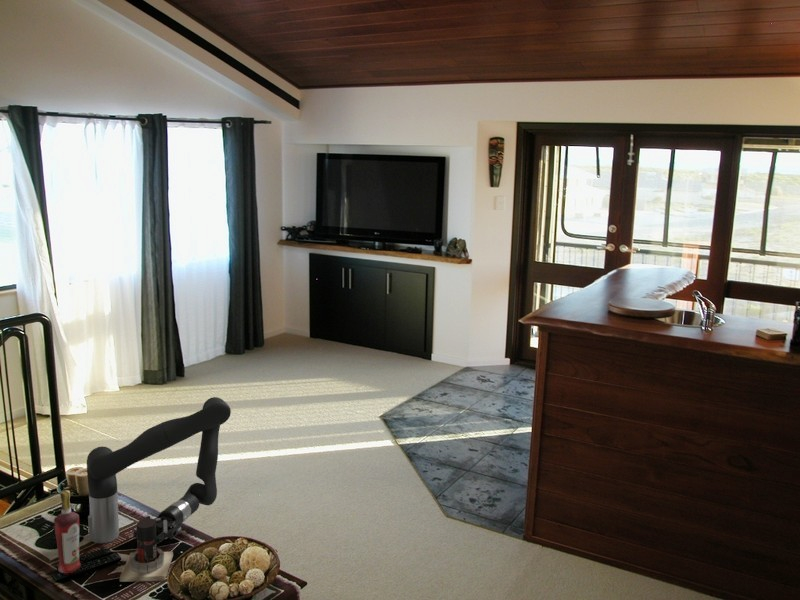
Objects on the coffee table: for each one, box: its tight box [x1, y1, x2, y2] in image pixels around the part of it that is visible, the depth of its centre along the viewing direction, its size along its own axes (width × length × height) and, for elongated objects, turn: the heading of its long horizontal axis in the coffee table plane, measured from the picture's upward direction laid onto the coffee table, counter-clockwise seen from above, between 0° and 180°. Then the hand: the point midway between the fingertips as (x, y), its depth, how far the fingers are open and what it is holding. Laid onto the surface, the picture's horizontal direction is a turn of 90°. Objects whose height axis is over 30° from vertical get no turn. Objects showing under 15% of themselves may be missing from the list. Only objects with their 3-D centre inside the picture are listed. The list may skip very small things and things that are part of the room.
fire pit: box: [119, 547, 174, 583], centre depth 231 cm, size 14×14×5 cm
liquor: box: [53, 489, 82, 575], centre depth 225 cm, size 7×7×28 cm
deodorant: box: [136, 517, 158, 563], centre depth 229 cm, size 6×6×15 cm
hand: (145, 538), depth 228 cm, fingers open, 8 cm apart
